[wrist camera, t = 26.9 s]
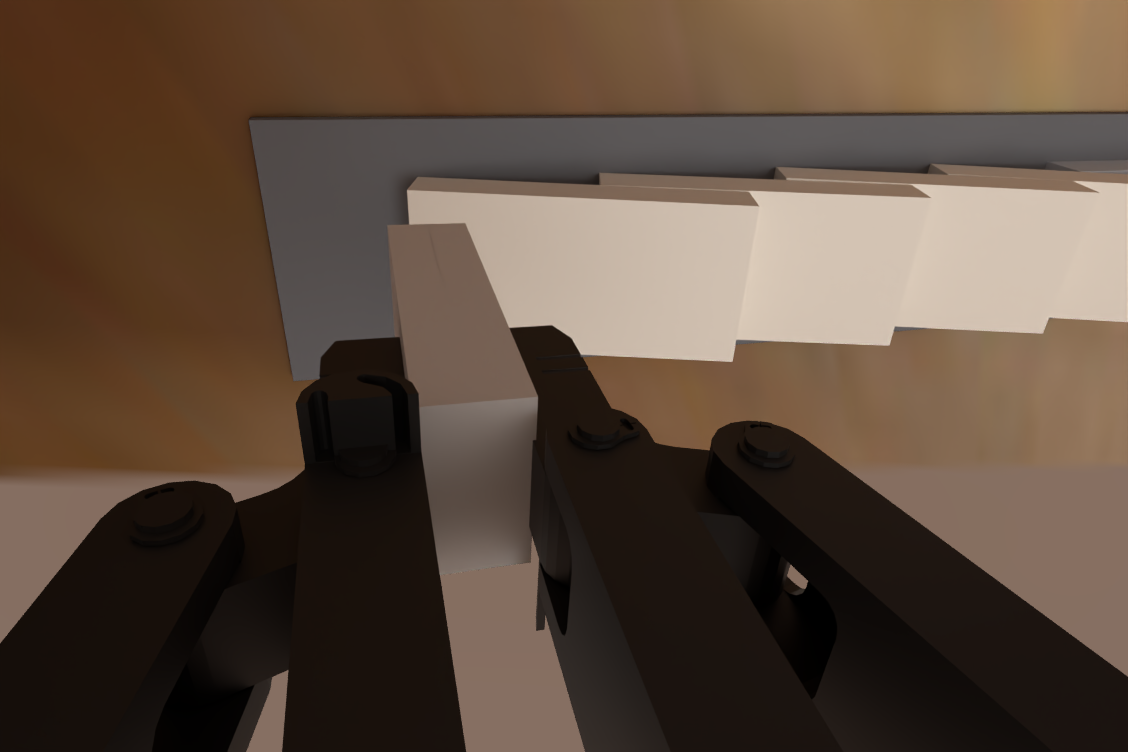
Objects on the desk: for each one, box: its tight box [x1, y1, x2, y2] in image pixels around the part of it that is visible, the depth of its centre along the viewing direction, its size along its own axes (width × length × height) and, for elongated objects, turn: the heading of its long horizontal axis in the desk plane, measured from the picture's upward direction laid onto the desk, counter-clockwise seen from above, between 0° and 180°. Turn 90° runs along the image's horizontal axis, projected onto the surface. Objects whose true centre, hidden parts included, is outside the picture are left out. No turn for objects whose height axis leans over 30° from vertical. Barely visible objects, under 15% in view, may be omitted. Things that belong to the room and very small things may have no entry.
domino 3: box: [774, 167, 1100, 334], centre depth 30 cm, size 2×6×12 cm
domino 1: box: [407, 177, 760, 362], centre depth 27 cm, size 2×6×12 cm
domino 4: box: [928, 164, 1128, 322], centre depth 31 cm, size 2×6×12 cm
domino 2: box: [599, 173, 932, 346], centre depth 28 cm, size 2×6×12 cm
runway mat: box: [249, 112, 1128, 381], centre depth 31 cm, size 38×10×1 cm, turn 88°
